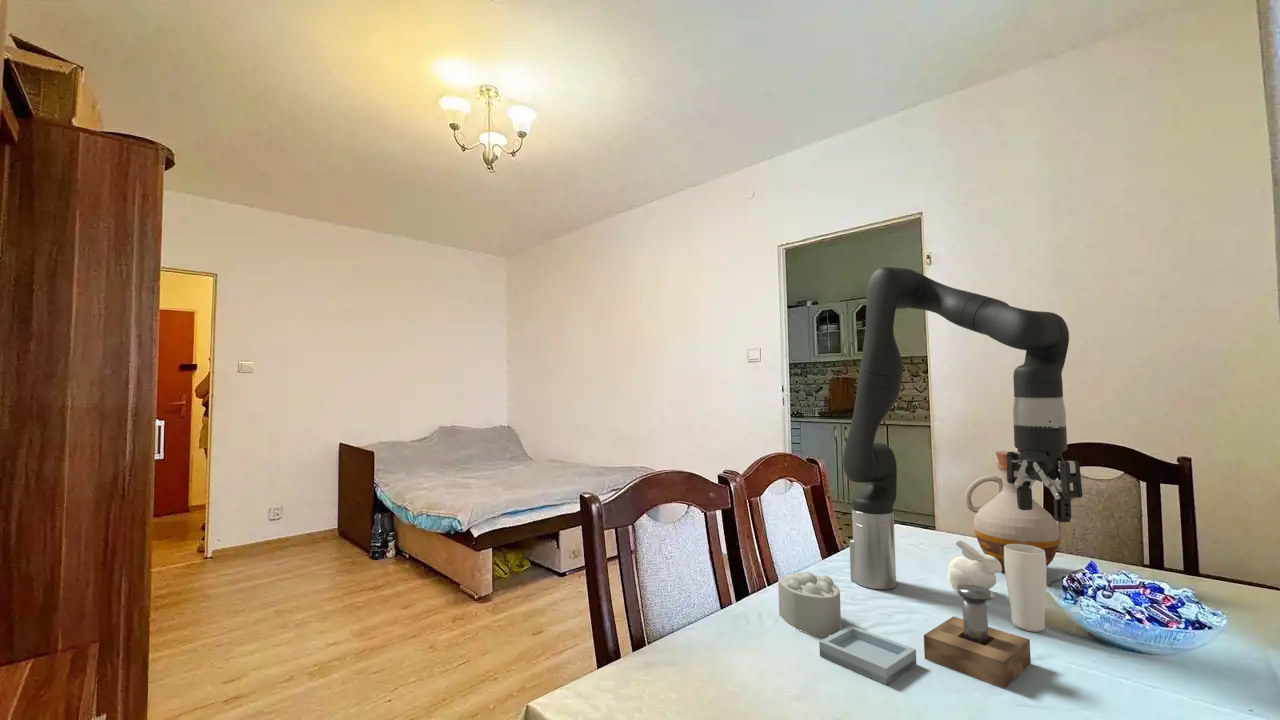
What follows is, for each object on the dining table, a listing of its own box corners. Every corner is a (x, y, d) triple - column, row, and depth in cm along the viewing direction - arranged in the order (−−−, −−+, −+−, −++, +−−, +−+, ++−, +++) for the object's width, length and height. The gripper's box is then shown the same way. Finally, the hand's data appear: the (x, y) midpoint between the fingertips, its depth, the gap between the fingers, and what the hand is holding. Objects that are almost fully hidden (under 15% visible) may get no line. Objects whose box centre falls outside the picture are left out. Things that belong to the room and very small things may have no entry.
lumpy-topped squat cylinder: (816, 606, 115) (814, 565, 116) (855, 632, 103) (853, 586, 103) (772, 612, 113) (771, 570, 113) (807, 640, 100) (806, 592, 101)
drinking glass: (1057, 636, 100) (1053, 554, 101) (1017, 633, 102) (1013, 552, 103) (1038, 620, 107) (1034, 544, 108) (1000, 618, 108) (997, 542, 109)
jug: (965, 574, 134) (959, 453, 135) (970, 555, 148) (965, 446, 150) (1065, 590, 123) (1058, 458, 124) (1059, 568, 137) (1053, 450, 139)
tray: (819, 655, 94) (819, 641, 94) (850, 639, 100) (850, 625, 100) (886, 685, 85) (886, 668, 85) (916, 664, 91) (915, 649, 91)
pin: (956, 660, 92) (952, 588, 93) (967, 651, 95) (964, 582, 96) (987, 671, 88) (983, 597, 89) (998, 662, 91) (995, 590, 92)
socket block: (924, 658, 93) (923, 634, 93) (954, 638, 100) (953, 616, 100) (1004, 688, 83) (1003, 662, 83) (1030, 663, 91) (1029, 639, 91)
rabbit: (1008, 601, 117) (1006, 545, 118) (974, 606, 115) (971, 549, 115) (962, 582, 129) (959, 531, 129) (929, 586, 126) (927, 534, 127)
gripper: (991, 420, 102) (994, 506, 102) (1049, 426, 88) (1053, 526, 87) (1030, 420, 102) (1033, 506, 102) (1094, 426, 88) (1099, 526, 87)
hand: (1043, 515), depth 94 cm, fingers open, 8 cm apart
